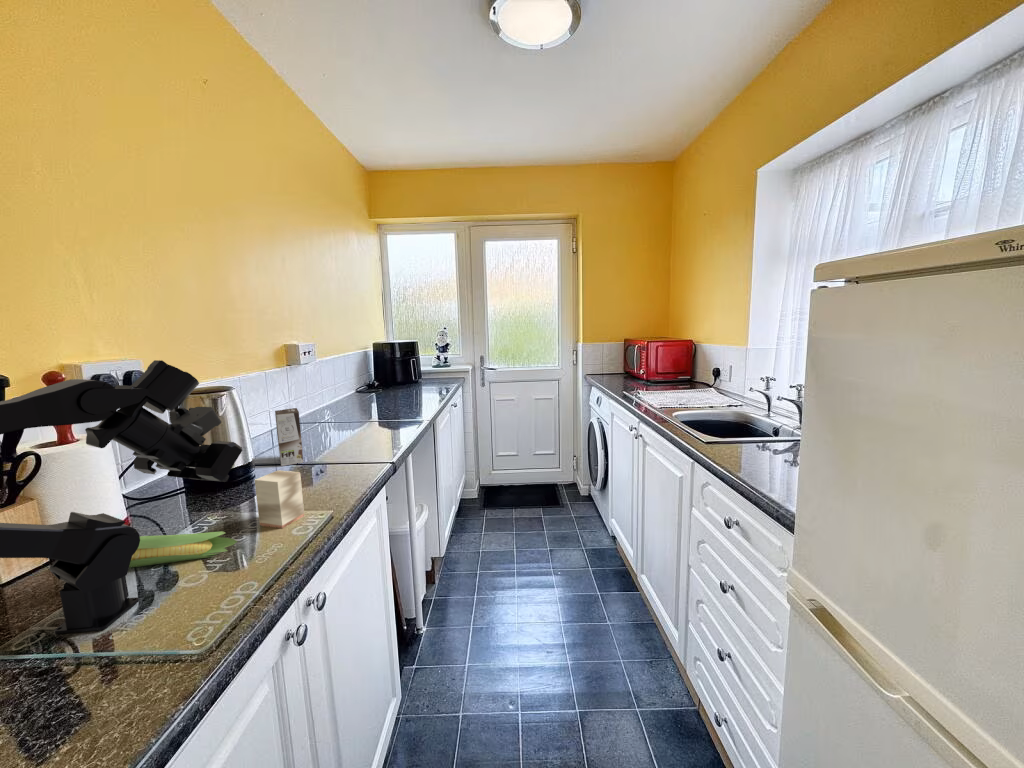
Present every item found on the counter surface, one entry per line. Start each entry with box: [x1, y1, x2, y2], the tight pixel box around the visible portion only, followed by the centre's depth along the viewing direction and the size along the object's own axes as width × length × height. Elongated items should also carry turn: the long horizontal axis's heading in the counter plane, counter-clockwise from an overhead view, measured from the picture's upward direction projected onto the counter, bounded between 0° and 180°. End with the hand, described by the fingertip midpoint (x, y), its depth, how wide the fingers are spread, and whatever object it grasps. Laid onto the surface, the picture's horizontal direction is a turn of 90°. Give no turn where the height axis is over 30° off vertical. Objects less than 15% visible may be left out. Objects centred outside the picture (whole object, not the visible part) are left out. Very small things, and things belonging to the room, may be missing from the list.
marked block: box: [254, 469, 305, 529], centre depth 90 cm, size 6×6×10 cm
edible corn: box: [129, 530, 238, 569], centre depth 76 cm, size 5×20×5 cm
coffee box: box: [274, 407, 304, 467], centre depth 131 cm, size 9×6×16 cm
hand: (224, 478), depth 77 cm, fingers closed
